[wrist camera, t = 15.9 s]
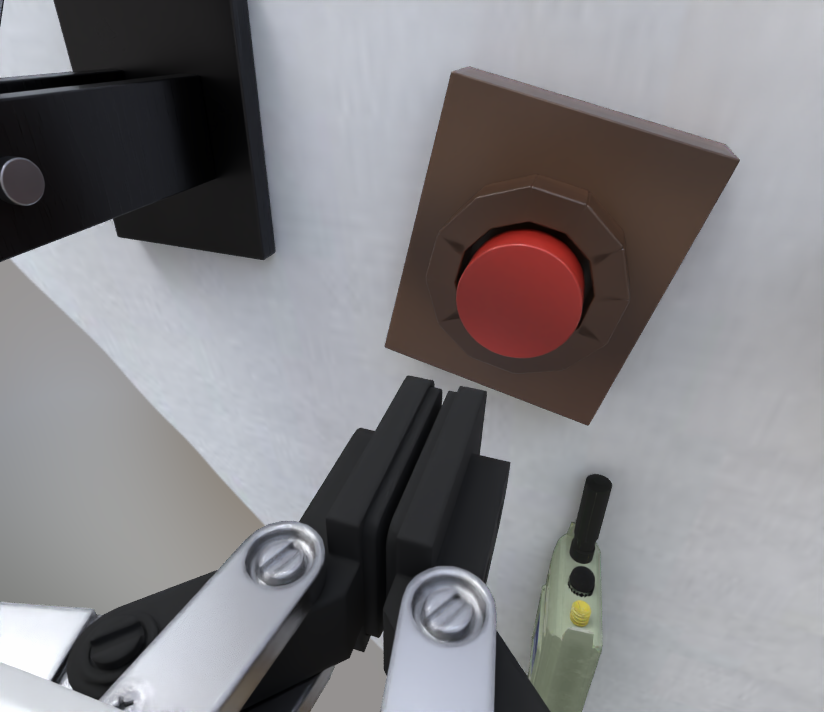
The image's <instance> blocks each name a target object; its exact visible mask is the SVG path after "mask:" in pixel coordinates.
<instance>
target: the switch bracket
mask: <svg viewBox="0 0 824 712" xmlns="http://www.w3.org/2000/svg"><path fill="white" fill-rule="evenodd" d="M54 4H55V7H56V11H57V15H58V18H59V22H60V26H61V29H62V33H63V37H64V40H65V44H66V48H67V51H68V55H69V59H70V62H71V66H72V70H73V72H63V73H52V74H40V75H28V76H17V77H5V78H0V262H1V261H4V260H6V259H9V258H12V257H14V256H17V255H20V254H22V253H25V252H27V251H30V250H33V249H35V248H38V247H40V246H43V245H46V244H48V243H51V242H53V241H56V240H59V239H61V238H64V237H66V236H69V235H72V234H74V233H77V232H79V231H82V230H85V229H87V228H90V227H92V226H95V225H98V224H100V223H103V222H105V221H108V220H110V219H113V221H114V225H115V228H116V232H117V236H118V237H121V238H128V239H134V240H140V241H146V242H153V243H159V244H165V245H172V246H178V247H184V248H191V249H197V250H203V251H209V252H216V253H222V254H228V255H235V256H241V257H247V258H253V259H260V260H265V259H266V258H268V257H269V256H271V255H272V254H274V253H275V245H274V236H273V227H272V219H271V210H270V201H269V192H268V183H267V174H266V165H265V157H264V148H263V139H262V130H261V121H260V112H259V104H258V95H257V86H256V77H255V68H254V59H253V51H252V42H251V33H250V24H249V15H248V6H247V0H54Z"/></svg>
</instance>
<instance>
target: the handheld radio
mask: <svg viewBox="0 0 824 712" xmlns="http://www.w3.org/2000/svg"><path fill="white" fill-rule="evenodd" d="M611 489H612V483H611V481H610V480H609V479H608V478H606V477H605V476H602V475H599V474H592V475H589V476H588V477H587V478H586V481H585V486H584V490H583V494H582V499H581V503H580V507H579V512H578V516H577V520H576V523H573V522H571V525H570V527H569V530H568V532H567V534H565V535H564V536H562V537H561V538H560V539H559V540H558V542H557V544H556V547H555V549H554V552H553V555H552V559H551V563H550V567H549V571H548V576H547V581H546V585H544V586H542V591H541V596H540V601H539V606H538V611H537V616H536V621H535V626H534V631H533V636H532V645H531V656H530V667H529V673H528V678H529V680H530V681H531V683H532V684H533V686H534V687H535V689H536V690H537V692H538V693H539V695H540V696H541V698H542V699H543V701H544V702H545V704H546V705H547V707H548V708H549V710H550V711H551V712H582V710H583V706H584V703H585V700H586V697H587V694H588V691H589V688H590V685H591V682H592V679H593V676H594V673H595V670H596V667H597V664H598V660H599V657H600V654H601V651H602V600H601V555H600V549H599V547H598V545H597V543H596V540H597V539H598V537H599V533H600V529H601V526H602V522H603V518H604V515H605V511H606V507H607V503H608V500H609V496H610V492H611Z"/></svg>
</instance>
